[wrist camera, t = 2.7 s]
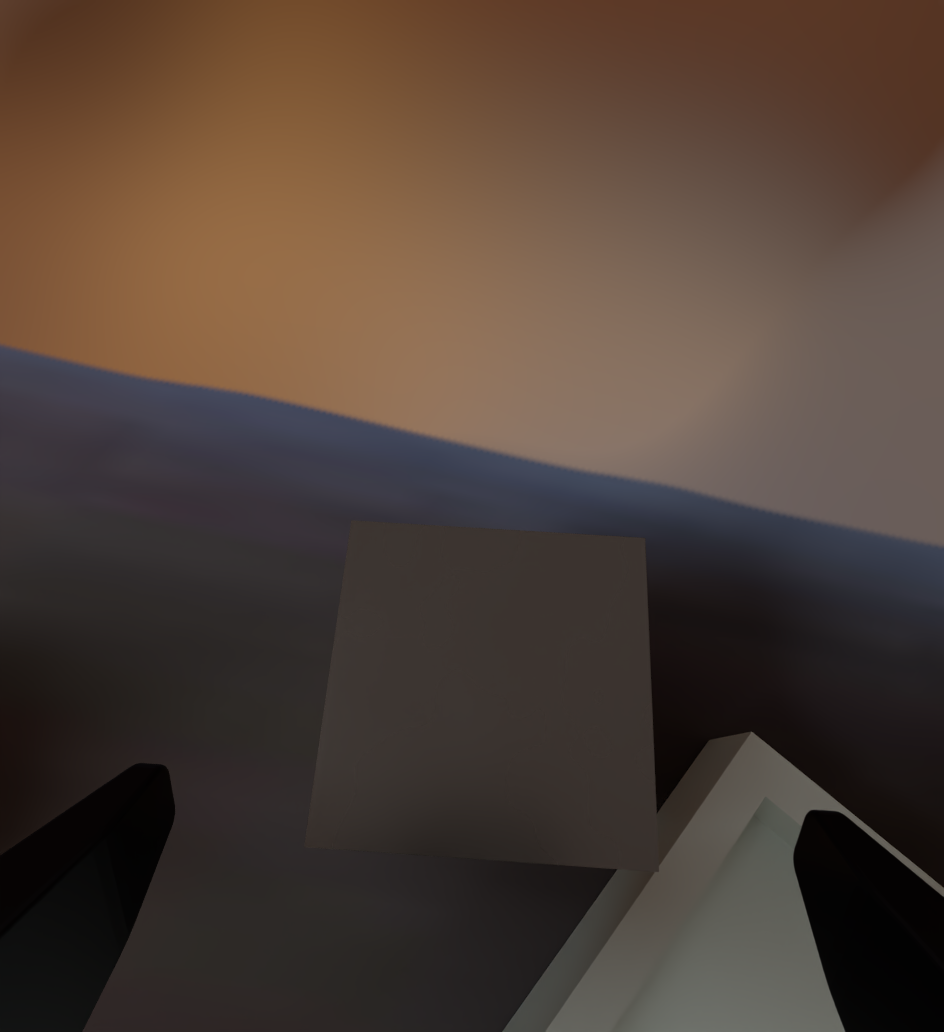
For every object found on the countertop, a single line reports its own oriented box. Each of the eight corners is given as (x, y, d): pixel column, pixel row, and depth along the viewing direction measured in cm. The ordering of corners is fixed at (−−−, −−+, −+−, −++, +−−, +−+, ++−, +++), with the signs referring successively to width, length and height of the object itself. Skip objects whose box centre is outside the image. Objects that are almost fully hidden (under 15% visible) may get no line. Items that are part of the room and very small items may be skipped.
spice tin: (568, 831, 17) (659, 872, 9) (382, 819, 18) (304, 847, 9) (569, 645, 19) (644, 537, 11) (401, 634, 19) (350, 520, 11)
